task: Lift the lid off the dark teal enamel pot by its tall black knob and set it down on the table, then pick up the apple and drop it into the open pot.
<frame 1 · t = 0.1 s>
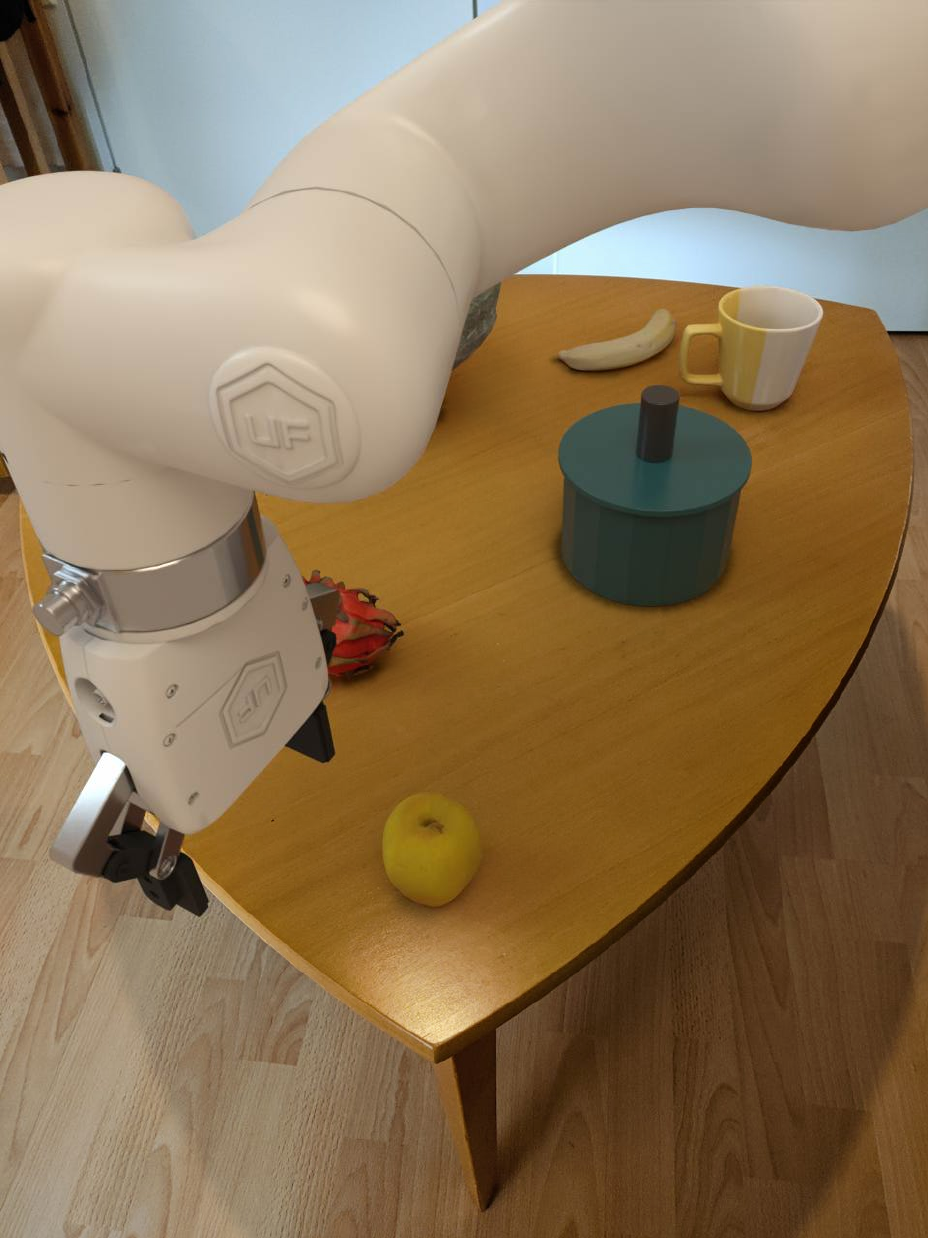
hand: (247, 819, 48), 18 cm above the table, tool pointing down, fingers open, 9 cm apart
apple: (435, 884, 66), on the table
dragon fruit: (335, 659, 82), on the table
lid: (653, 458, 83), point 10 cm above the table, touching pot
fruit: (624, 351, 116), on the table
decorative bowl: (382, 414, 108), on the table
pot: (643, 551, 90), on the table
mug: (737, 398, 108), on the table
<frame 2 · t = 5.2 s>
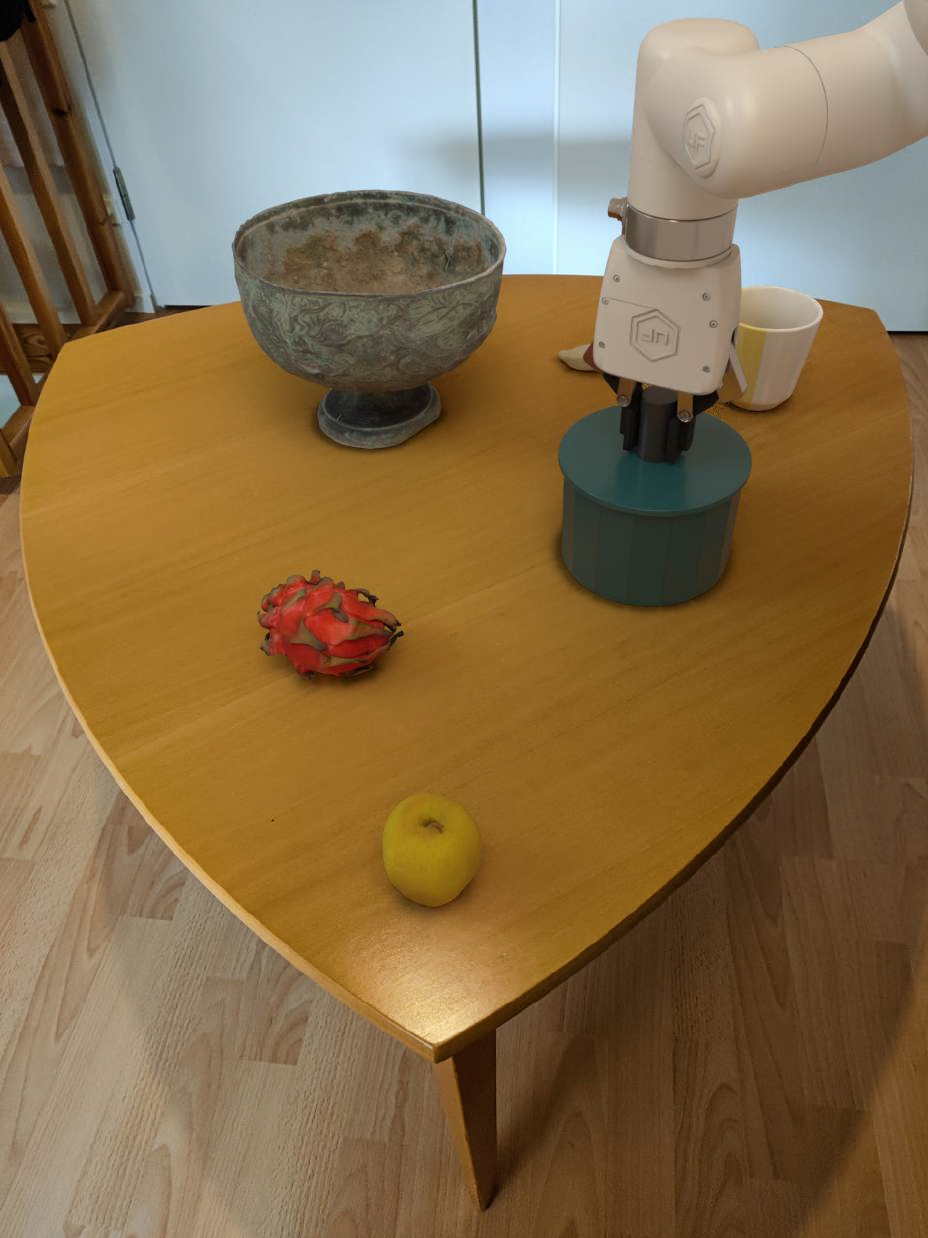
hand: (654, 446, 82), 11 cm above the table, tool pointing down, fingers closed on lid, 3 cm apart
lid: (653, 458, 83), point 10 cm above the table, touching gripper, pot
everything else where it was.
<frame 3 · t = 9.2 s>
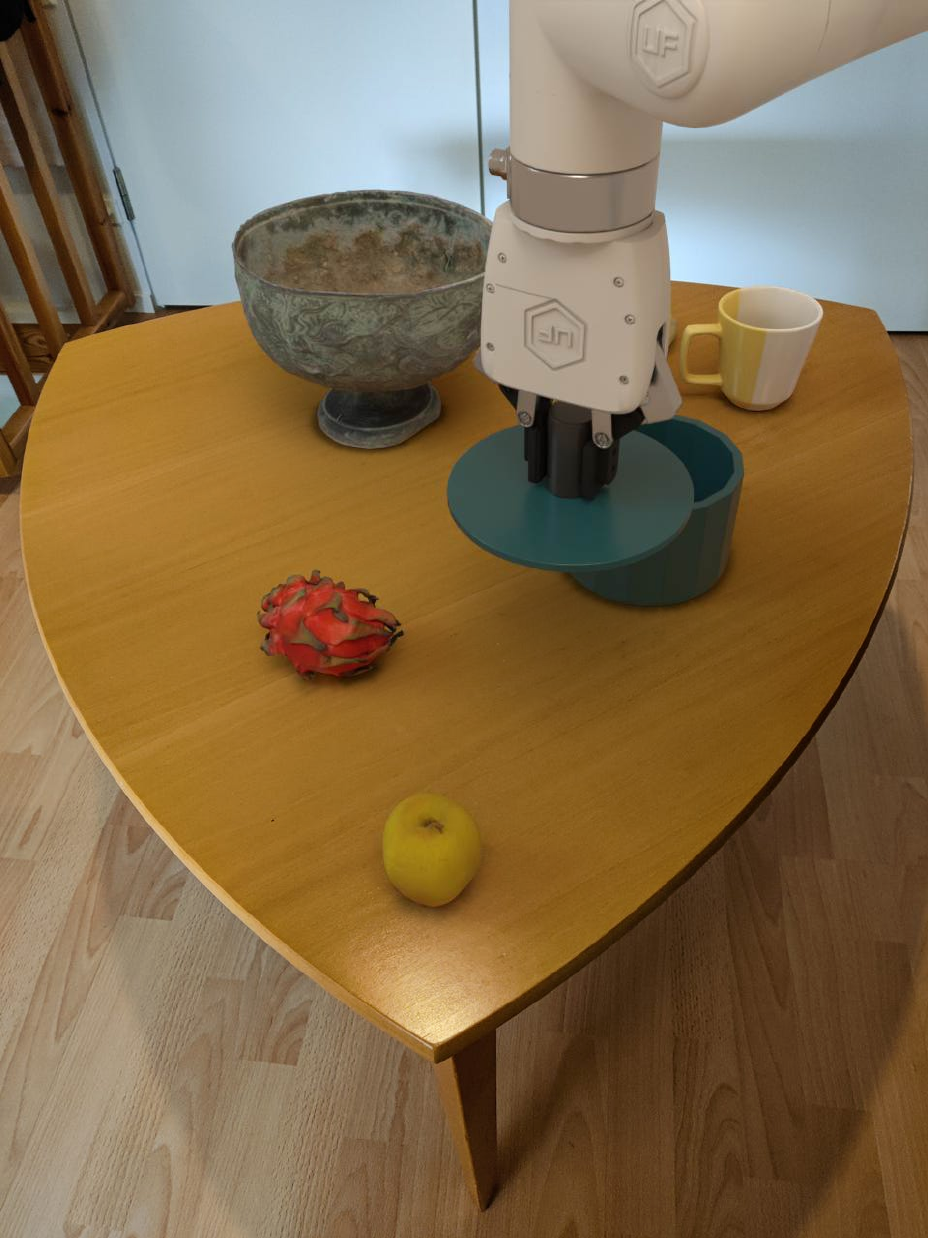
hand: (569, 477, 64), 20 cm above the table, tool pointing down, fingers closed on lid, 3 cm apart
lid: (568, 492, 64), point 19 cm above the table, touching gripper
everything else where it was.
when the fingers open (2 cm above the table, at t = 13.3 s): lid stays where it is, point 1 cm above the table.
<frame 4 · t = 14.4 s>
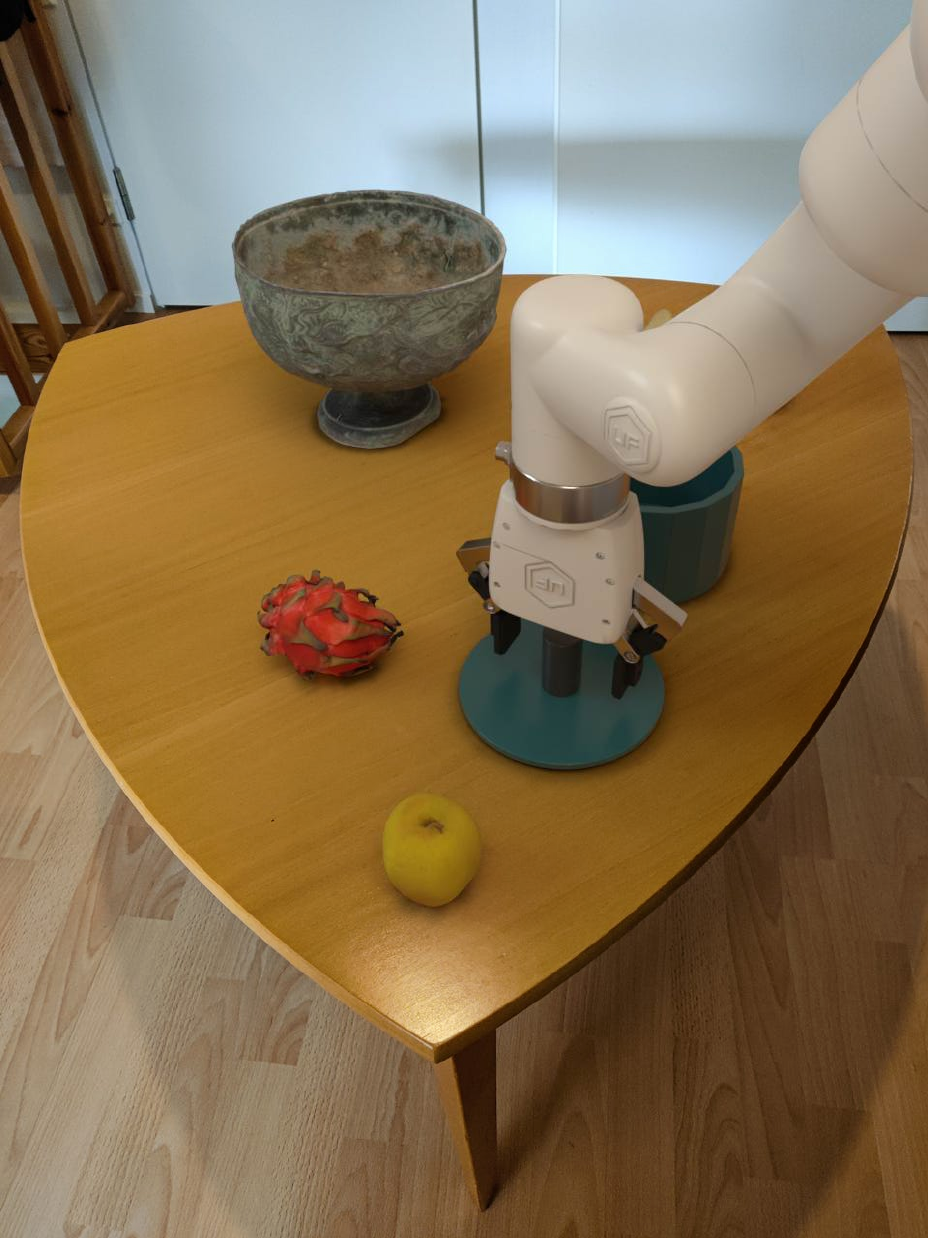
hand: (564, 664, 75), 3 cm above the table, tool pointing down, fingers open, 9 cm apart
lid: (560, 688, 77), point 1 cm above the table
everything else where it was.
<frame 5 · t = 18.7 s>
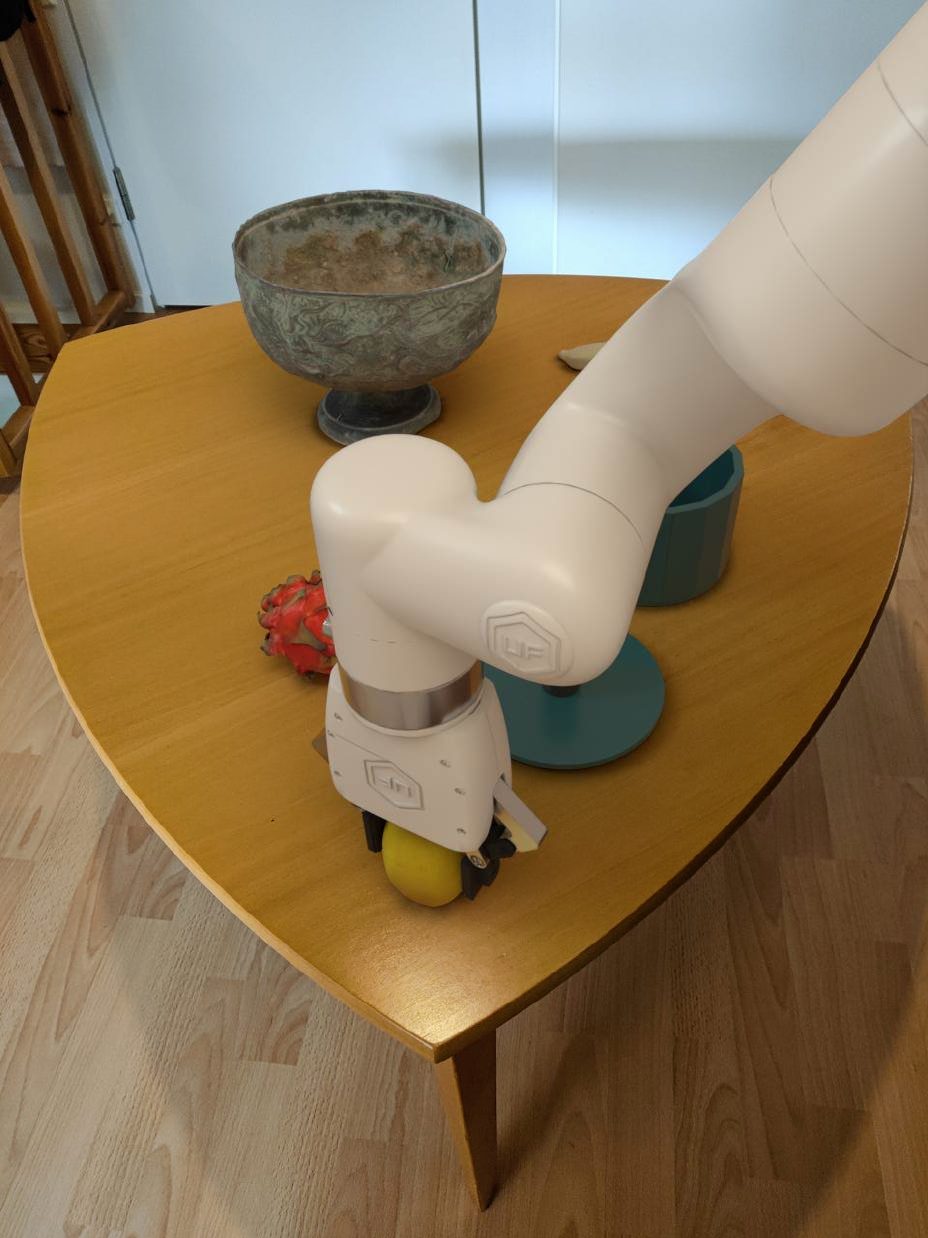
hand: (432, 856, 64), 3 cm above the table, tool pointing down, fingers closed on apple, 6 cm apart
apple: (435, 884, 66), on the table, touching gripper
everything else where it was.
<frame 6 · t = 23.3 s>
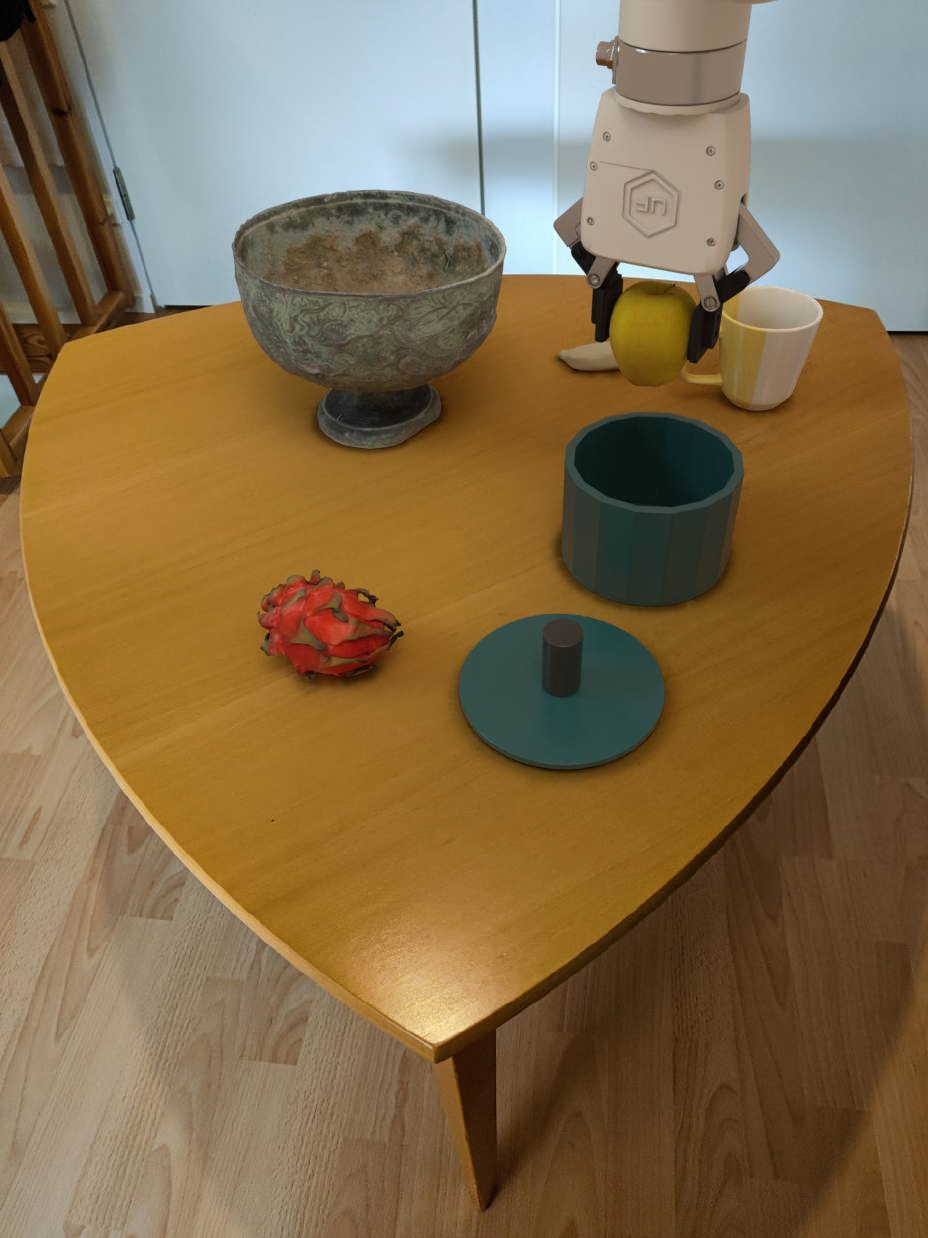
hand: (652, 342, 72), 22 cm above the table, tool pointing down, fingers closed on apple, 6 cm apart
apple: (649, 382, 74), point 19 cm above the table, touching gripper
everything else where it was.
when the fingers open (6 cm above the table, at t = 27.9 s): apple drops 2 cm, resting on pot.
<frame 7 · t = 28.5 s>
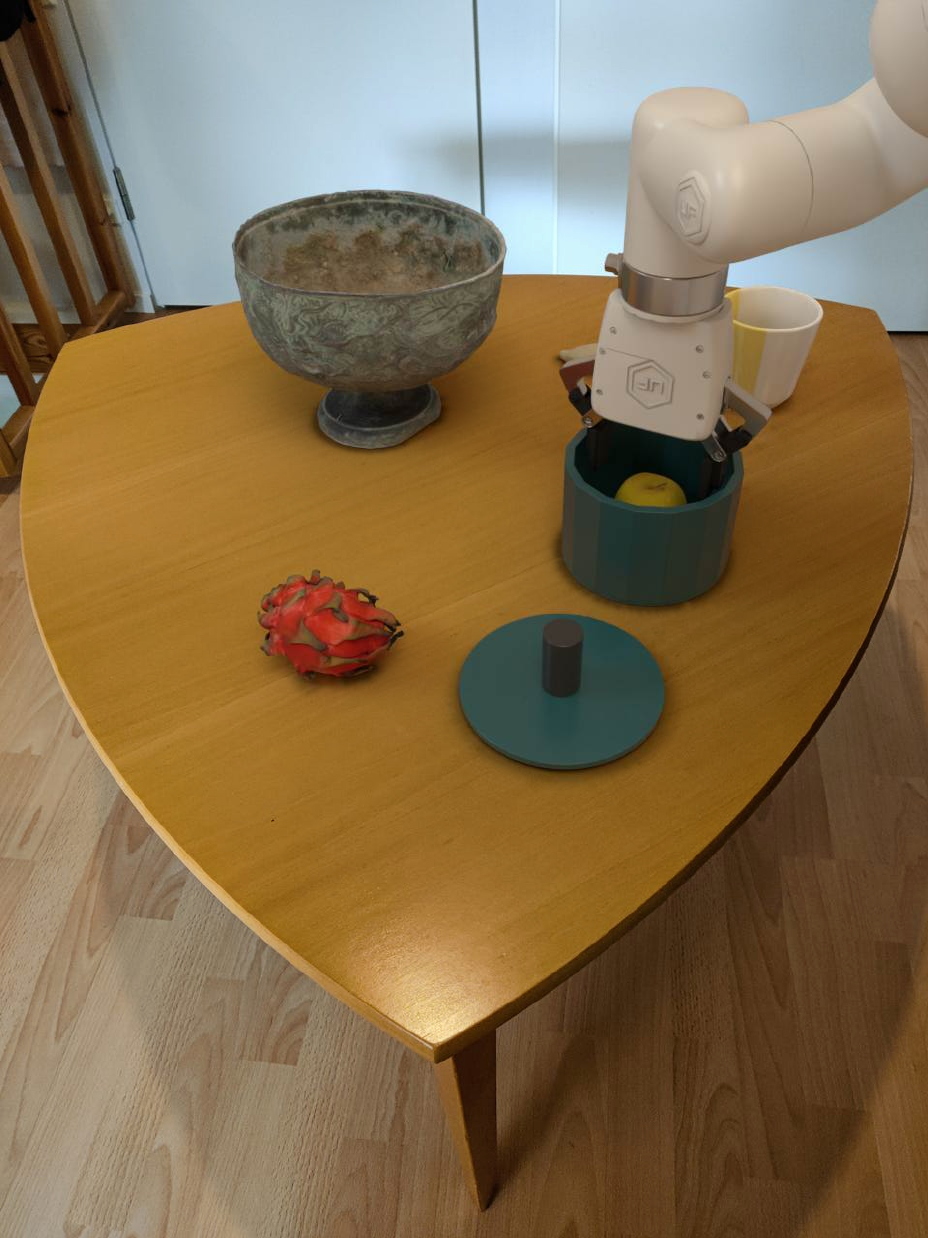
hand: (652, 476, 84), 8 cm above the table, tool pointing down, fingers open, 9 cm apart
apple: (645, 550, 89), resting on pot
everything else where it was.
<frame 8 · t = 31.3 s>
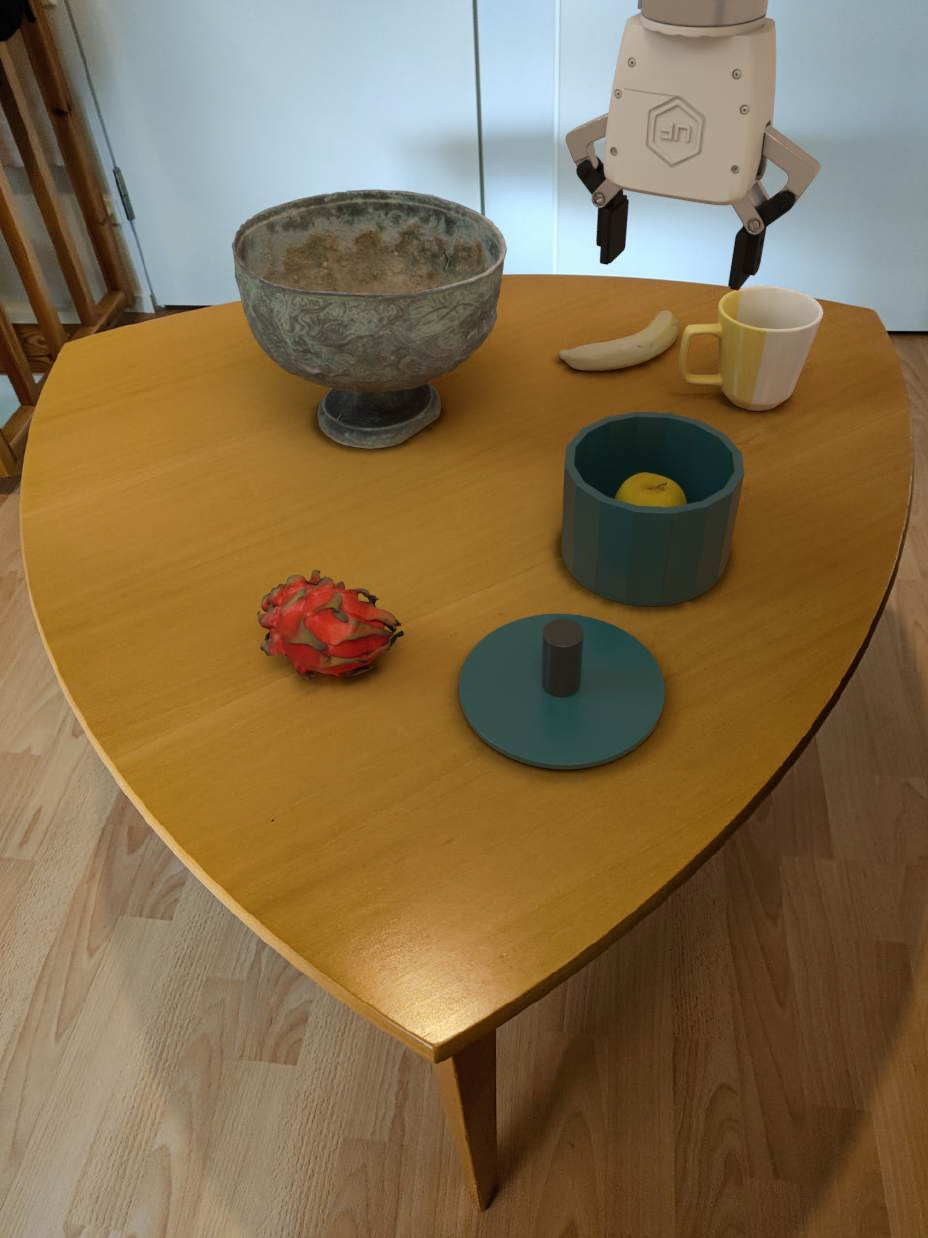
hand: (674, 269, 72), 26 cm above the table, tool pointing down, fingers open, 9 cm apart
nothing on the table moved.
at the end: apple inside the target area in the pot (0.2 cm from its centre), point 0.3 cm above the pot's base; lid inside the target area (0.0 cm from its centre), point 0.6 cm above the table; lid tilted 0° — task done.
